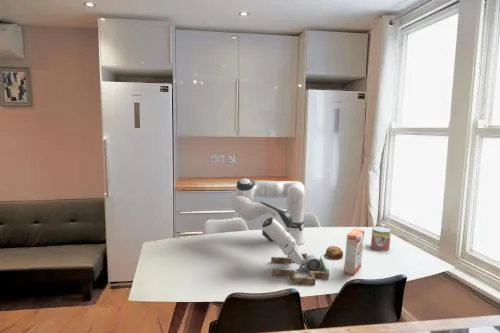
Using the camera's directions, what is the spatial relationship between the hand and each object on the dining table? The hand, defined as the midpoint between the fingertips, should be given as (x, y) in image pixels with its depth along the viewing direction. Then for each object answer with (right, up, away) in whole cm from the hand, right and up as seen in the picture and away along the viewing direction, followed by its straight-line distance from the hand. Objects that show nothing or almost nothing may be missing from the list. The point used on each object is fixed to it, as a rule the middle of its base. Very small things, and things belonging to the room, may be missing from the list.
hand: (305, 262), depth 187 cm
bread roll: (+21, -3, +22) cm, 31 cm away
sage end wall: (+10, -5, +1) cm, 11 cm away
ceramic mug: (+2, -4, +1) cm, 5 cm away
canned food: (+54, -2, +40) cm, 68 cm away
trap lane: (-3, -4, +1) cm, 5 cm away
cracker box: (+26, -5, +4) cm, 27 cm away
